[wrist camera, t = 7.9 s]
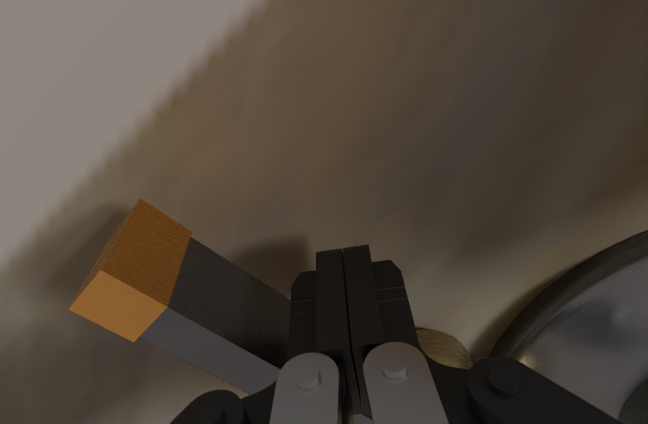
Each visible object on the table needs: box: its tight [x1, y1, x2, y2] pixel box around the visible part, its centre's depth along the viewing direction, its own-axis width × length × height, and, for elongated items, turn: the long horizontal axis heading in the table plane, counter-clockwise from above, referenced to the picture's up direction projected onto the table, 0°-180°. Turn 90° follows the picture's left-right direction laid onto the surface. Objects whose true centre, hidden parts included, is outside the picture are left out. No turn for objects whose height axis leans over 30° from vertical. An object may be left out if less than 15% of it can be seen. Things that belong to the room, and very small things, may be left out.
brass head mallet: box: [68, 199, 473, 424], centre depth 15 cm, size 14×4×4 cm, turn 48°
